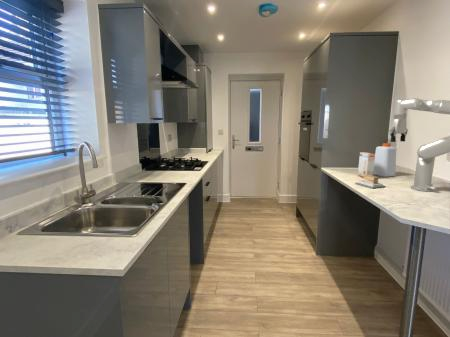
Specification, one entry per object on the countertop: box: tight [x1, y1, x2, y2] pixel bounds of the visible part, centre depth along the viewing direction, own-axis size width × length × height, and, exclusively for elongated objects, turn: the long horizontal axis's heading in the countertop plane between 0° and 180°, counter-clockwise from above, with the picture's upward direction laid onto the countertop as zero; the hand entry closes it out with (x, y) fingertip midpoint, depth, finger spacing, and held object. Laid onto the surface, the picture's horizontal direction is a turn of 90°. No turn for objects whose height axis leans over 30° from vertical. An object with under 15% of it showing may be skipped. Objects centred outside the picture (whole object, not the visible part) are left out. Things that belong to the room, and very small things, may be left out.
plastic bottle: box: [373, 142, 397, 178], centre depth 226 cm, size 15×15×28 cm
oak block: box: [362, 175, 380, 184], centre depth 191 cm, size 4×9×6 cm, turn 19°
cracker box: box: [357, 151, 375, 179], centre depth 217 cm, size 14×6×21 cm, turn 179°
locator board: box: [354, 180, 387, 190], centre depth 191 cm, size 15×13×2 cm
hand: (397, 141), depth 186 cm, fingers open, 9 cm apart
